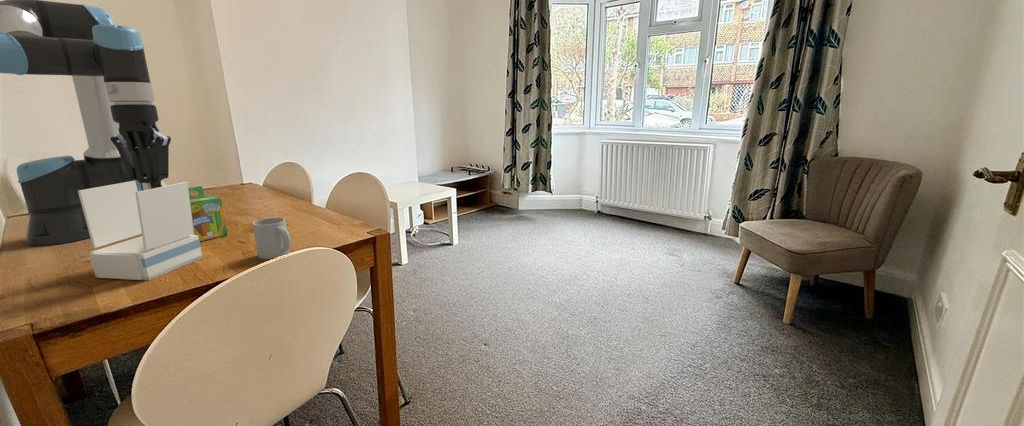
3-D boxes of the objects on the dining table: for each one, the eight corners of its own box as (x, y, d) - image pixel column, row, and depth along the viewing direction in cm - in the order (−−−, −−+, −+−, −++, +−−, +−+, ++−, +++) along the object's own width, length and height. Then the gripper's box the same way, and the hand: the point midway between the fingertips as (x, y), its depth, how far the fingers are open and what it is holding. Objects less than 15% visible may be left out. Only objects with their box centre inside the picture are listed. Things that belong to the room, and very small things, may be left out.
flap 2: (144, 249, 93) (135, 192, 90) (191, 233, 105) (185, 181, 101) (146, 250, 93) (137, 192, 90) (193, 233, 105) (187, 182, 101)
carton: (92, 278, 95) (85, 253, 94) (157, 254, 110) (152, 232, 109) (146, 281, 93) (140, 255, 92) (205, 257, 108) (200, 234, 107)
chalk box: (193, 244, 118) (182, 192, 115) (178, 239, 123) (167, 188, 120) (229, 235, 126) (220, 186, 122) (214, 231, 131) (204, 183, 127)
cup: (277, 248, 114) (272, 216, 112) (303, 253, 110) (299, 220, 108) (251, 257, 108) (245, 223, 105) (278, 262, 103) (273, 227, 101)
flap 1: (93, 247, 95) (77, 190, 92) (145, 232, 107) (133, 180, 103) (95, 247, 95) (80, 190, 92) (147, 232, 107) (135, 180, 103)
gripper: (88, 104, 89) (115, 213, 95) (141, 103, 87) (166, 215, 93) (124, 103, 96) (148, 205, 102) (175, 103, 94) (195, 206, 100)
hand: (156, 210), depth 97 cm, fingers closed
